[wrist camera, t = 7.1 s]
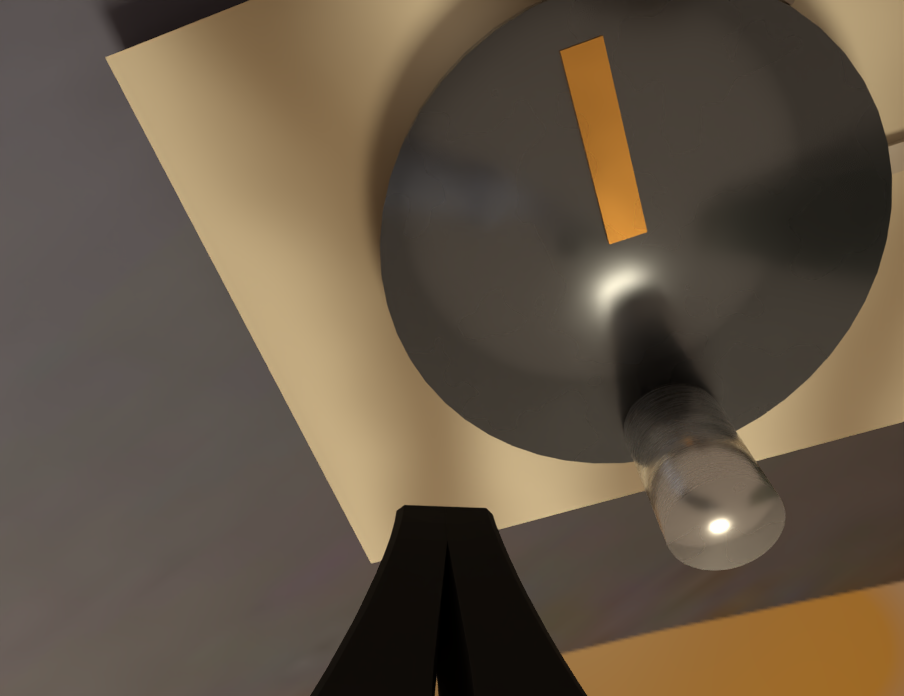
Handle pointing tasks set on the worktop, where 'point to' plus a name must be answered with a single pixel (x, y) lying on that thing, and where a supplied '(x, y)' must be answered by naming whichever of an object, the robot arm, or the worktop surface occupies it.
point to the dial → (640, 241)
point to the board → (359, 228)
